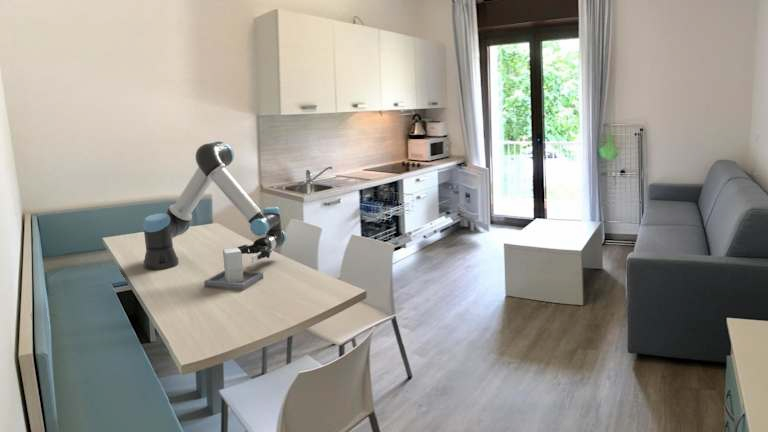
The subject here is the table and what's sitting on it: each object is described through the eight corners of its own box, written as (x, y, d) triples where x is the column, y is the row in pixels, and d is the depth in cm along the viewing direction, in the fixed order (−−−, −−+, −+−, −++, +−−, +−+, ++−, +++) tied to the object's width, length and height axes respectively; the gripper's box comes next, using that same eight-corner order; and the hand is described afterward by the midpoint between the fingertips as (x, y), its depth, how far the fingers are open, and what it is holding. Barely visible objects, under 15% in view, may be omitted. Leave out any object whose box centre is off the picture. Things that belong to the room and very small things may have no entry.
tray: (204, 286, 228) (204, 281, 227) (226, 275, 243) (226, 269, 242) (243, 290, 222) (242, 284, 222) (263, 278, 237) (262, 272, 237)
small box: (244, 281, 230) (241, 251, 227) (228, 284, 227) (225, 253, 225) (240, 276, 237) (237, 246, 235) (224, 278, 235) (222, 248, 232)
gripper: (289, 254, 251) (265, 269, 231) (241, 251, 258) (214, 264, 239) (288, 238, 249) (263, 251, 229) (239, 235, 257) (212, 247, 237)
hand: (238, 258), depth 234 cm, fingers open, 13 cm apart
